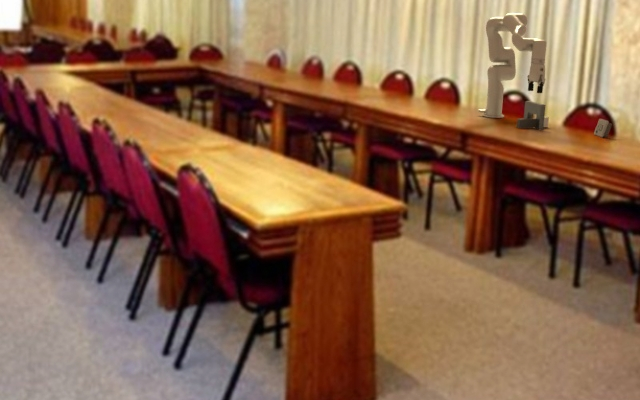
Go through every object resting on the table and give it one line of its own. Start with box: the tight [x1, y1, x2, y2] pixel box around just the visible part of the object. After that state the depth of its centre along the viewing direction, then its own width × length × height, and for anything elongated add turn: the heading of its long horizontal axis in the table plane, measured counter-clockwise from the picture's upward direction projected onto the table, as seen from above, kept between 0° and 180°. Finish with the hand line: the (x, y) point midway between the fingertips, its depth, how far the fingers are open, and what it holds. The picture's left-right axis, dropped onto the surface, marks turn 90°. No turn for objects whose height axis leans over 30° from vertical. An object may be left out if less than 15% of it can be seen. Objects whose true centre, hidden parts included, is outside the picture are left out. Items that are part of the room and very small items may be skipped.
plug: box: [515, 115, 550, 129], centre depth 498 cm, size 18×5×6 cm, turn 110°
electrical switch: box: [593, 118, 613, 138], centre depth 475 cm, size 9×5×9 cm, turn 10°
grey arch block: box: [523, 100, 546, 130], centre depth 497 cm, size 3×16×14 cm, turn 20°
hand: (535, 91), depth 493 cm, fingers open, 9 cm apart
